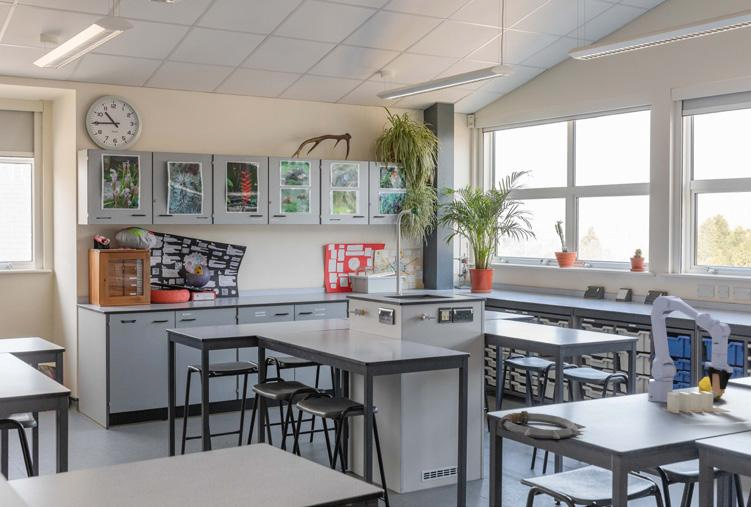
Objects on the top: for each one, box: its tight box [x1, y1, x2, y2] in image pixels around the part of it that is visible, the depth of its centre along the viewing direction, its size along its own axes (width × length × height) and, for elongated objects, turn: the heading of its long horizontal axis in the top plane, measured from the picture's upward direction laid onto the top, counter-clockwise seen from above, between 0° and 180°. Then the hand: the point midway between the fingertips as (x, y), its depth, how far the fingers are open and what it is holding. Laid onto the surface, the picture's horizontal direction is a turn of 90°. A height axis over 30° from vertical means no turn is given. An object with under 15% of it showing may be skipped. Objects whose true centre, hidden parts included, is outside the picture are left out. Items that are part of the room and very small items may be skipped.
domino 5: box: [712, 374, 726, 395], centre depth 331 cm, size 2×5×7 cm, turn 14°
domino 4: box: [701, 391, 714, 412], centre depth 330 cm, size 2×5×7 cm, turn 14°
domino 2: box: [678, 391, 691, 412], centre depth 328 cm, size 2×5×7 cm, turn 14°
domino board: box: [660, 407, 731, 415], centre depth 329 cm, size 26×8×1 cm, turn 104°
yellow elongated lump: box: [698, 376, 724, 402], centre depth 356 cm, size 10×30×10 cm, turn 164°
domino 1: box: [666, 391, 680, 413], centre depth 327 cm, size 2×5×7 cm, turn 14°
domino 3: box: [689, 391, 702, 412], centre depth 329 cm, size 2×5×7 cm, turn 14°
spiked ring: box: [498, 410, 587, 440], centre depth 291 cm, size 33×4×30 cm
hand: (718, 387), depth 331 cm, fingers closed on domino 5, 5 cm apart
